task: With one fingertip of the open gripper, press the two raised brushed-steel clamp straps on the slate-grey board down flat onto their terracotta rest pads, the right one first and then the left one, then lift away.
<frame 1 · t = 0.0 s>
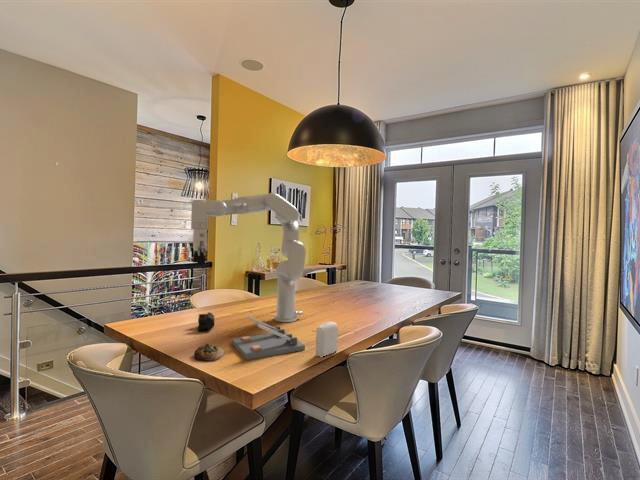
hand: (199, 263, 156), 31 cm above the table, tool pointing down, fingers open, 9 cm apart
end cap: (206, 329, 159), on the table
clamp board: (267, 346, 137), on the table
right strap: (265, 325, 143), point 7 cm above the table, hinge at 28.0°
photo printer: (326, 354, 132), on the table
bread roll: (209, 357, 126), on the table
left strap: (276, 333, 133), point 7 cm above the table, hinge at 28.0°
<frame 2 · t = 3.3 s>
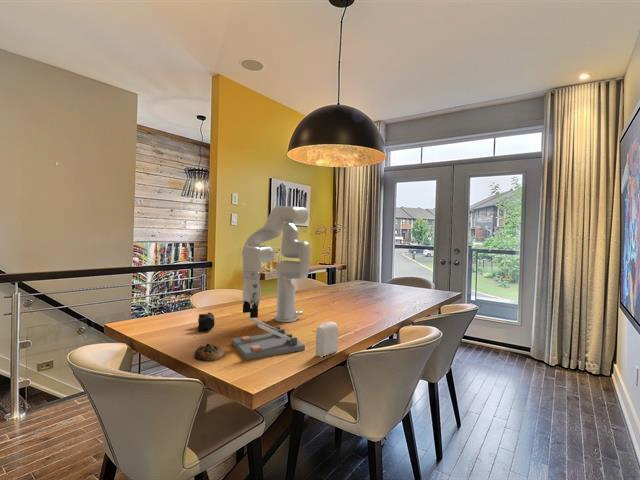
hand: (250, 314, 144), 11 cm above the table, tool pointing down, fingers open, 9 cm apart
right strap: (265, 325, 143), point 7 cm above the table, hinge at 27.9°, touching gripper
everything else where it was.
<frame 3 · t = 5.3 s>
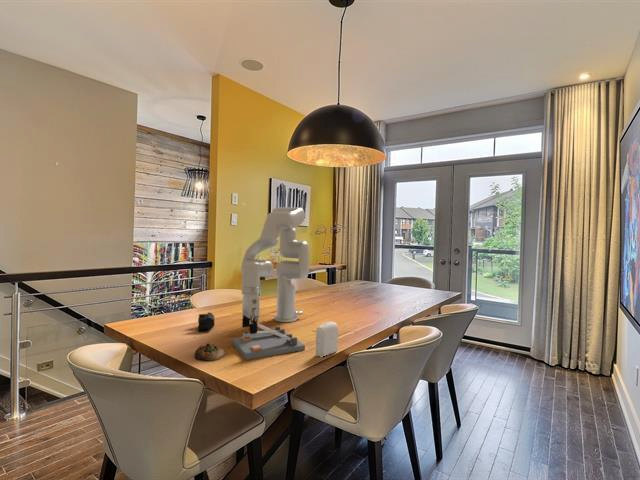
hand: (249, 329, 144), 5 cm above the table, tool pointing down, fingers open, 9 cm apart
right strap: (263, 333, 143), point 4 cm above the table, hinge at 2.9°
everything else where it was.
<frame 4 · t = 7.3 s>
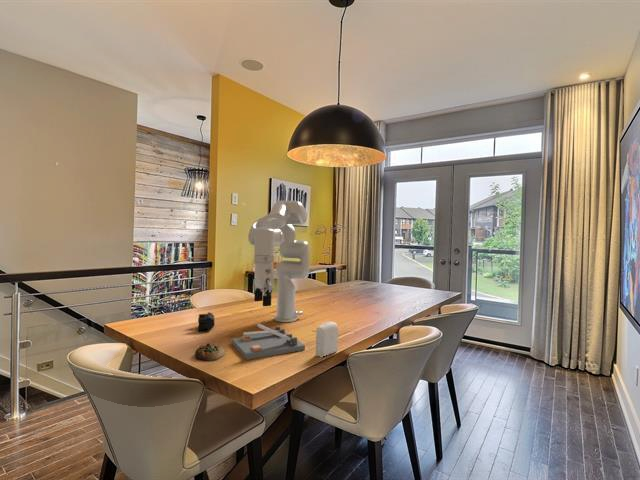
hand: (262, 303, 131), 19 cm above the table, tool pointing down, fingers open, 9 cm apart
nothing on the table moved.
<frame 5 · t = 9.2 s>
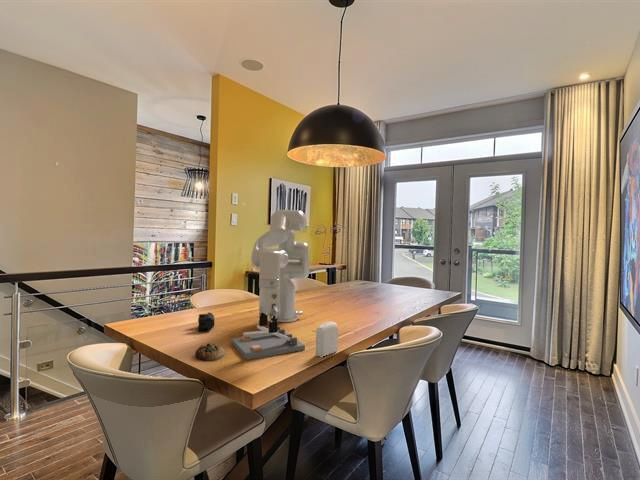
hand: (268, 328, 126), 11 cm above the table, tool pointing down, fingers open, 9 cm apart
left strap: (276, 333, 132), point 7 cm above the table, hinge at 26.2°, touching gripper
everything else where it was.
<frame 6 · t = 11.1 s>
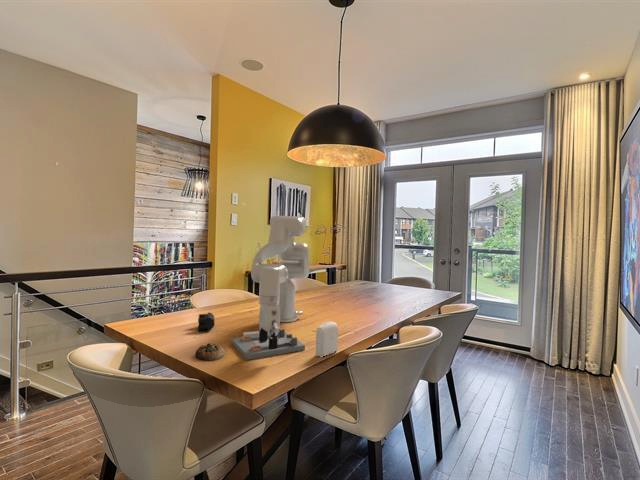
hand: (267, 344, 126), 5 cm above the table, tool pointing down, fingers open, 9 cm apart
left strap: (274, 341, 132), point 4 cm above the table, hinge at 2.8°
everything else where it was.
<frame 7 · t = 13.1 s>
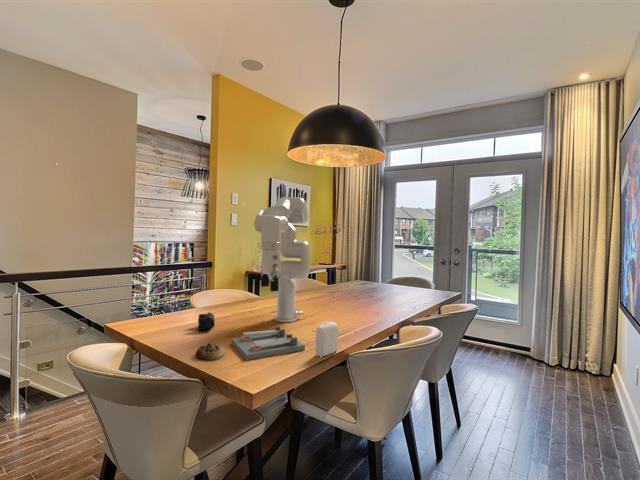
hand: (269, 288, 135), 24 cm above the table, tool pointing down, fingers open, 9 cm apart
nothing on the table moved.
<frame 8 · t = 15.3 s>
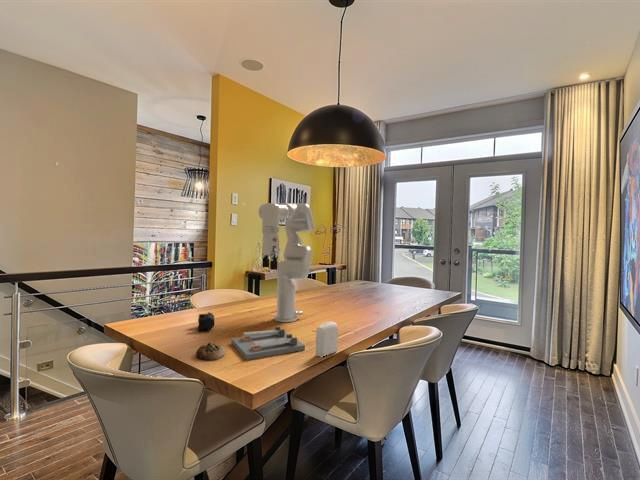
hand: (269, 268, 152), 30 cm above the table, tool pointing down, fingers open, 9 cm apart
nothing on the table moved.
at the end: right strap at +3° (first picture: +28°); left strap at +3° (first picture: +28°) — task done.
